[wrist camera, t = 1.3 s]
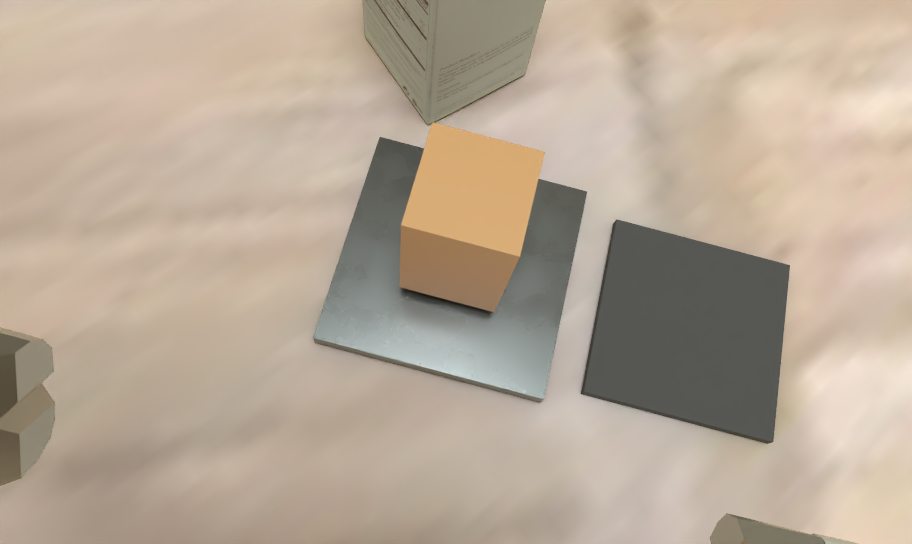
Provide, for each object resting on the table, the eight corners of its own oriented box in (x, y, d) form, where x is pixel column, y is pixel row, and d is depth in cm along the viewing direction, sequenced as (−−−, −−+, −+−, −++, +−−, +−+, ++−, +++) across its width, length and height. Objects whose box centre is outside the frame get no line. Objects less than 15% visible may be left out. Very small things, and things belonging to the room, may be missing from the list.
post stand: (315, 342, 38) (292, 287, 29) (380, 145, 42) (376, 47, 33) (539, 402, 37) (582, 365, 29) (582, 199, 42) (631, 114, 33)
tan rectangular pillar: (399, 287, 37) (400, 224, 30) (424, 201, 39) (432, 122, 31) (494, 312, 37) (519, 256, 29) (515, 225, 39) (544, 151, 31)
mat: (581, 393, 38) (583, 391, 37) (613, 223, 41) (616, 219, 41) (767, 443, 38) (773, 442, 37) (784, 268, 41) (790, 265, 41)
